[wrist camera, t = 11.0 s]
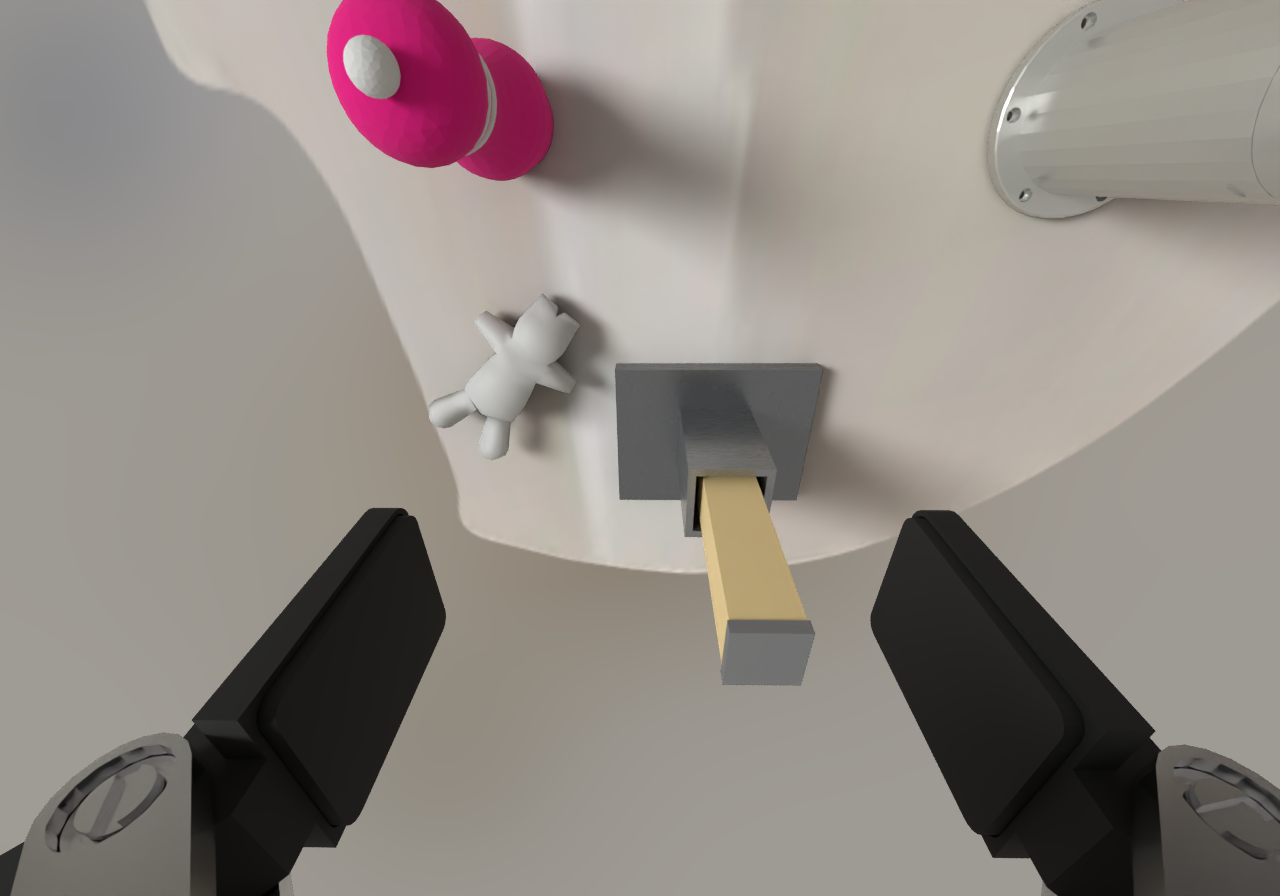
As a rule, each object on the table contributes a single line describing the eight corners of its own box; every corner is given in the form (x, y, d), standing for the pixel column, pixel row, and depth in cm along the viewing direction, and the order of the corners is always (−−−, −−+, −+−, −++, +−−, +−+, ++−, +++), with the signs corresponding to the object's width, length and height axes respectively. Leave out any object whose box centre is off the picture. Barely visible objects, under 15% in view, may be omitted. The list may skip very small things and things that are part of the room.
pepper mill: (566, 177, 35) (487, 180, 18) (471, 182, 35) (299, 190, 18) (553, 52, 31) (435, -101, 14) (446, 59, 31) (201, -83, 14)
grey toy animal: (605, 354, 38) (500, 481, 42) (605, 340, 42) (510, 456, 46) (506, 273, 35) (403, 419, 39) (517, 268, 39) (425, 399, 43)
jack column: (750, 456, 37) (815, 633, 23) (744, 500, 40) (800, 687, 25) (697, 456, 38) (729, 633, 23) (695, 500, 40) (722, 686, 25)
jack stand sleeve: (817, 363, 42) (875, 428, 31) (792, 491, 49) (832, 579, 38) (616, 363, 42) (605, 428, 31) (620, 490, 49) (612, 578, 38)
